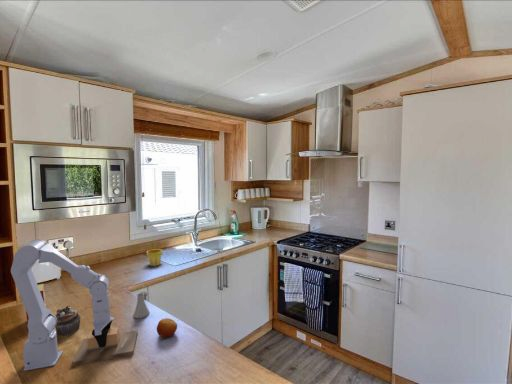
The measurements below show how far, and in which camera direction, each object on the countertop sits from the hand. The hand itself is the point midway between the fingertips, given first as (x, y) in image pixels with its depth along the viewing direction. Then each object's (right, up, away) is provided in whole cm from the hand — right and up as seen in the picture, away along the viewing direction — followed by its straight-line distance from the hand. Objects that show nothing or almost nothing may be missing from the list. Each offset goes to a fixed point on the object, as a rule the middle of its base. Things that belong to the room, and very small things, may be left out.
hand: (104, 342), depth 111 cm
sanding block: (0, -1, 0) cm, 1 cm away
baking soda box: (-41, -2, +21) cm, 46 cm away
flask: (+4, 0, +25) cm, 26 cm away
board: (+1, -3, +1) cm, 3 cm away
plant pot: (-13, +6, +94) cm, 95 cm away
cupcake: (-22, -2, +14) cm, 26 cm away
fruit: (+22, -2, +8) cm, 23 cm away
